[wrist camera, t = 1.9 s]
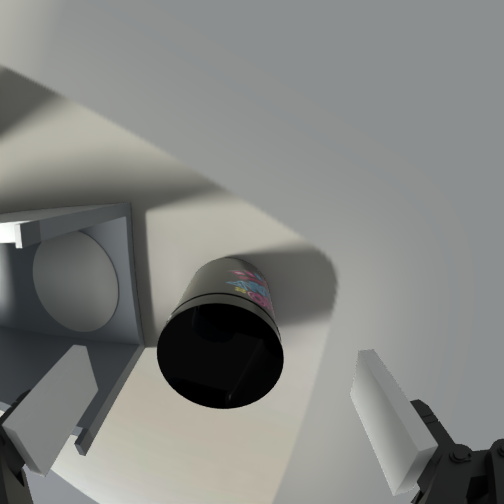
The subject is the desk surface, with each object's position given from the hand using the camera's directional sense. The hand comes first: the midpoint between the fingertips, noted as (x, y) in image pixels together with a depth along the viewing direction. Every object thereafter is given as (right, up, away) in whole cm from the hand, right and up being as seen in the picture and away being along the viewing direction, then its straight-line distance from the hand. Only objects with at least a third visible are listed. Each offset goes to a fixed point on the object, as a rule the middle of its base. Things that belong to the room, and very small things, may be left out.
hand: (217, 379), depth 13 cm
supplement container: (0, +2, +12) cm, 13 cm away
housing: (-23, +3, +12) cm, 26 cm away
